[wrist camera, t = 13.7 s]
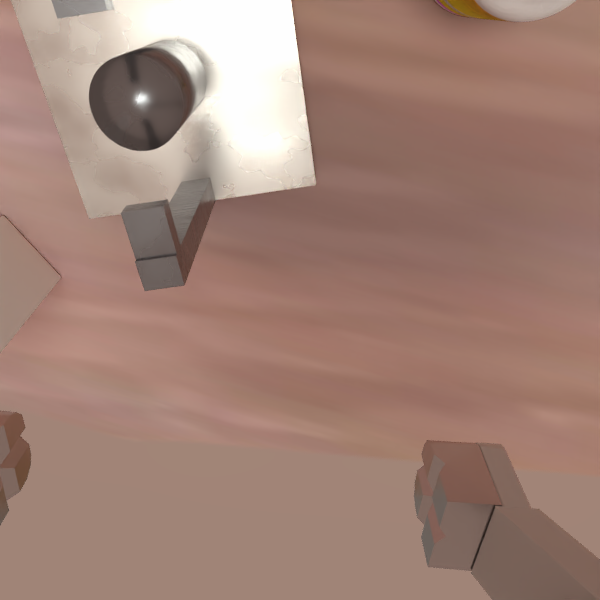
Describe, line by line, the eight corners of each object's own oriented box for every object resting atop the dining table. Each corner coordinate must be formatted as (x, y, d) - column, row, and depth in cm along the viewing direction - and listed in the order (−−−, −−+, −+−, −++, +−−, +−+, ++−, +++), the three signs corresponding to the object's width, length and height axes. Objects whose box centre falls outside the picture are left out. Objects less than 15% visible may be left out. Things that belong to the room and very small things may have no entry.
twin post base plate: (277, -98, 31) (268, -157, 19) (315, 179, 38) (326, 265, 26) (2, -49, 32) (-176, -74, 19) (94, 213, 39) (7, 310, 27)
